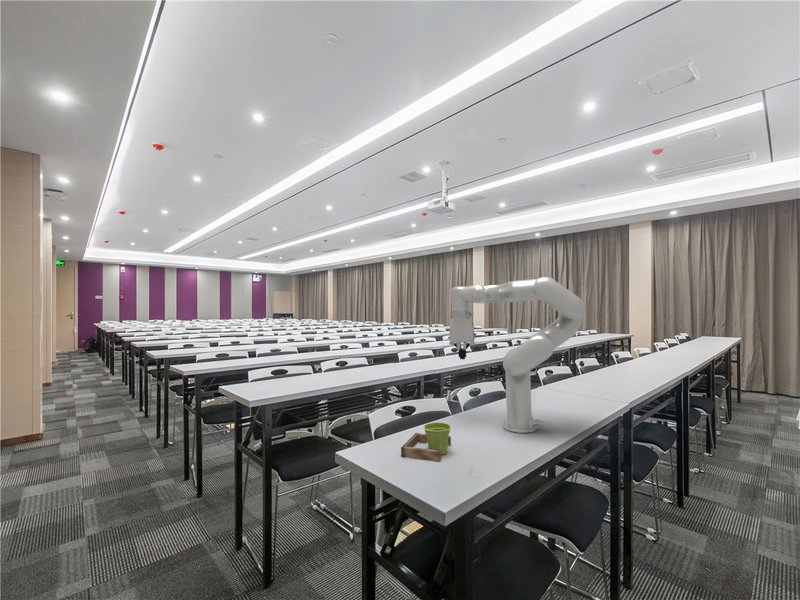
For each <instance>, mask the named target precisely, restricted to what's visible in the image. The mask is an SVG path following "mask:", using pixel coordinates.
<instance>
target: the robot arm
mask: <svg viewBox="0 0 800 600" xmlns="http://www.w3.org/2000/svg"><path fill="white" fill-rule="evenodd" d="M528 301H529V302H530V301H543V303H545V304H547V305H548V306H549V307H551V308H552V309H553V310H555V311H556V312H558V313H559V314H558V316H557V318H556V319H555V320H553V321H552V322H551V323H550V324H548V326H546V327H544V328H543V329H541V330H540V331H538V332H536V333H534V334H532V335H531V336H529V338H528V339H527V340H525V341H524V342H522V343H521V344H519V345H518V346H517V347H515V348H511V349H510V350H508V351H507V352H506V353H505V355H504V357H503V360H502V367H503V369H504V371H505V399H506V406H505V407H506V421H505V422H504V423H503V424H502V426H503V428H504V430H506V431H508V432H511V433H512V432H513V433H519V434H526V433H527V434H528V433H533V432H536V430H537V426H540V427H545V421H544V420H542V419H535V418H534V415H533V414H532V413H533V411H532V410H533V409H532V388H531V386H532V385H531V370H533V369H534V368H536V367H538V366H539V365H540V364H542V363H544V362H545V361H547V359H549V358H550V357H551V356H552V355H553V353H554V350H556V349H557V348H558V347H560V346H561V345H563V344H564V343H566V342H567V341H568V340H570V339H571V338H572V337H573V336H575V334H576V333H577V332H578V331H579V329H580V327H581V325H582V322H583V313H584V311H585V303H584V301H583V300H582V298H580V297H579V296H578V295H576V294H575V293H574V292H572V291H570V290H569V289H567V288H566V287H565V286H563V285H562V284H560V283H559V282H557V281H556V280H555V279H554V278H552V277H551V276H550V277H549V276H542V277H541V276H540V277H539V278H532V279H531V278H529V279H520V280H519V279H518V280H511V281H508V282H505V283H502V284H495V285H480V284H476V285H475V284H474V285H470V286H454V287H452V288H451V311H452V312H451V316H452V318H451V319H450V323H449V345H450V346H453V347H455V348H456V349H457V350H458V358H459V359H460V360H465V359H466V358H467V350H468V348H469V347H471V346H475V344H476V342H475V339H476V336H475V326H474V320H473V318H471V317H474V314H475V313H474V312H472V311H471V309H470V308H471V306H470V305H471V303H473V304H491V303H505V302H506V303H517V302H518V303H519V302H528ZM462 343H463V345H462ZM462 346H463V347H462Z"/></svg>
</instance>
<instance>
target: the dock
mask: <svg viewBox="0 0 800 600" xmlns="http://www.w3.org/2000/svg"><path fill="white" fill-rule="evenodd" d="M418 442H419V443H420V444H426V443H428V442H427V436H426V433H420V432H415V433H414V434H413V435H412V436H411V437H410V438H408V440H407V441H406V442H405V443H404V444H403V445H401V447H400V451H401V452H400V453H401V455H400V456H402V457H401V458H407V457H409V459H416V460H425V461H431V462H440V463H441V461H442V454H441V451H439V450H431V449H429V448H422V447H415V446H417V444H419V443H418ZM451 445H452V436H450V435H449V438H448V447H451ZM413 447H414V448H413Z"/></svg>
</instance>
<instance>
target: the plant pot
mask: <svg viewBox="0 0 800 600" xmlns="http://www.w3.org/2000/svg"><path fill="white" fill-rule="evenodd" d="M423 429H424V432H425V433H424V434H426V436H427V442H428V444H427V447H428V448H427V449H431V450H439V451H441V455H446V454H447V453H448V447H449V446H448V438H449V436H450V432H451V429H452V425H450V424H449V423H446V422H440V421H439V422H428V423H426V424H424V425H423Z"/></svg>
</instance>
